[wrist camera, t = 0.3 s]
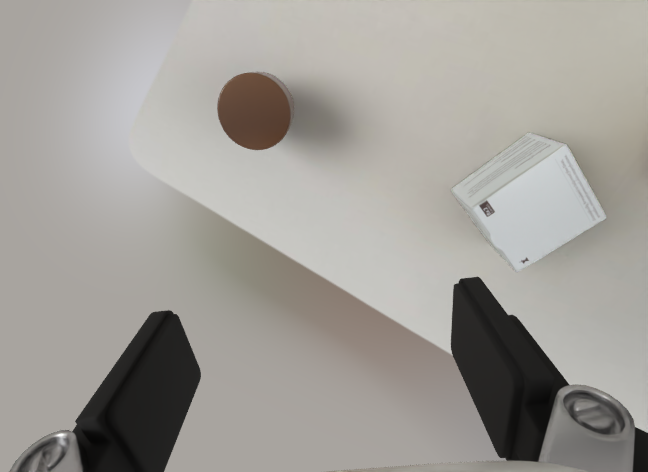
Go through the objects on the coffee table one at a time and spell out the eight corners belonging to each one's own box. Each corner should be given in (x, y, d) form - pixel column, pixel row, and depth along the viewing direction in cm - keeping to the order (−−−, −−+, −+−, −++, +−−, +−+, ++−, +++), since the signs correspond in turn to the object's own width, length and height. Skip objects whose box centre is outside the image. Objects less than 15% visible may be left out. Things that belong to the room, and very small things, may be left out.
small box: (567, 196, 31) (610, 219, 26) (489, 246, 33) (516, 275, 28) (529, 129, 28) (569, 141, 23) (447, 188, 30) (469, 210, 26)
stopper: (229, 75, 26) (208, 78, 21) (291, 67, 26) (283, 67, 21) (244, 138, 28) (227, 154, 23) (301, 131, 28) (296, 145, 23)
